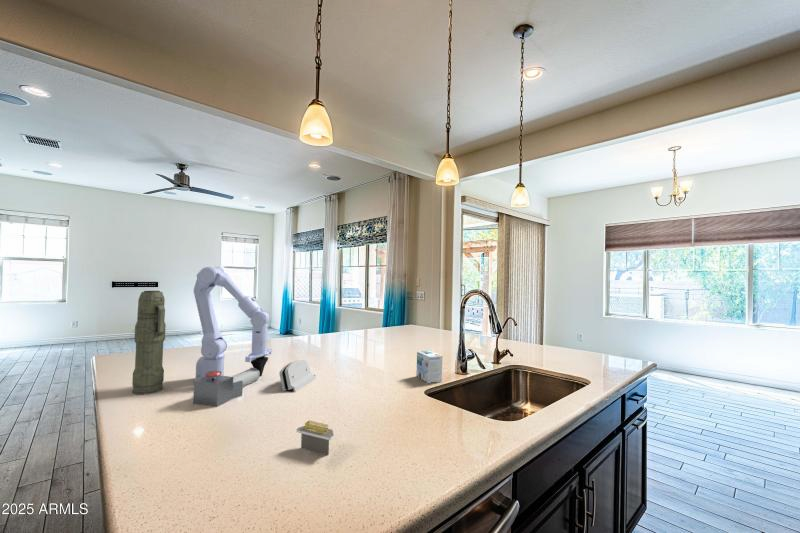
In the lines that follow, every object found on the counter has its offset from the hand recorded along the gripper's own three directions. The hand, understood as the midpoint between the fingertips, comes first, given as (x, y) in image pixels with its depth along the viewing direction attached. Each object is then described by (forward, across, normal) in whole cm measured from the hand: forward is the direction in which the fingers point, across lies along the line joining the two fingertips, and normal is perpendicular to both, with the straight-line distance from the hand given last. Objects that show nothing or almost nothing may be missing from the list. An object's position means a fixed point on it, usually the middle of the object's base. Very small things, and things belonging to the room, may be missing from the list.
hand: (258, 376), depth 138 cm
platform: (+2, -44, -46) cm, 64 cm away
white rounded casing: (+2, -1, -17) cm, 17 cm away
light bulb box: (+2, +21, -65) cm, 68 cm away
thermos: (+2, -22, +29) cm, 36 cm away
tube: (+2, -14, +1) cm, 14 cm away
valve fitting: (+1, -22, 0) cm, 22 cm away
